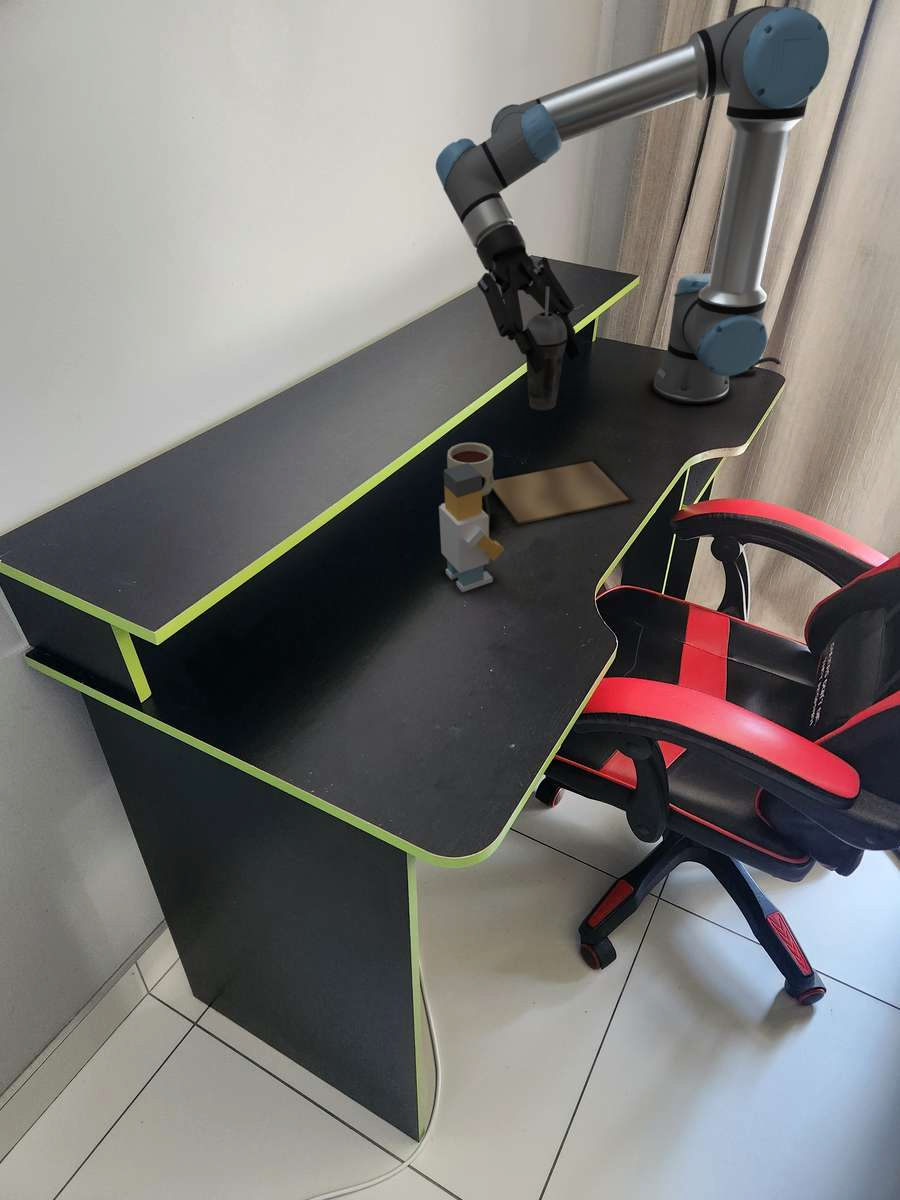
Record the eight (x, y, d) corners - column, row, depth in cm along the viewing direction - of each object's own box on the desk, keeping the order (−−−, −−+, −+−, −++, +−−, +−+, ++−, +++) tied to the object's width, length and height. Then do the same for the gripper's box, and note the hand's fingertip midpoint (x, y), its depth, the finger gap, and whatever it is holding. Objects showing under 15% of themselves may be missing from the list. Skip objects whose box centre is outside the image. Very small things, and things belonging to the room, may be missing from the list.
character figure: (451, 556, 121) (447, 452, 109) (512, 573, 117) (514, 467, 105) (427, 584, 115) (419, 478, 104) (490, 603, 111) (490, 494, 100)
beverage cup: (563, 395, 136) (570, 277, 124) (564, 414, 131) (571, 292, 118) (521, 395, 137) (525, 277, 125) (520, 413, 132) (523, 292, 119)
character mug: (468, 546, 122) (466, 474, 114) (433, 531, 126) (429, 460, 118) (508, 516, 129) (509, 445, 121) (474, 502, 133) (473, 433, 124)
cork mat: (591, 463, 142) (592, 460, 141) (628, 501, 131) (628, 498, 131) (488, 483, 137) (488, 481, 137) (518, 524, 127) (518, 522, 126)
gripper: (530, 239, 134) (590, 357, 134) (436, 263, 125) (501, 390, 125) (552, 211, 128) (616, 335, 128) (455, 234, 119) (524, 368, 119)
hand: (559, 362), depth 126 cm, fingers closed on beverage cup, 7 cm apart
